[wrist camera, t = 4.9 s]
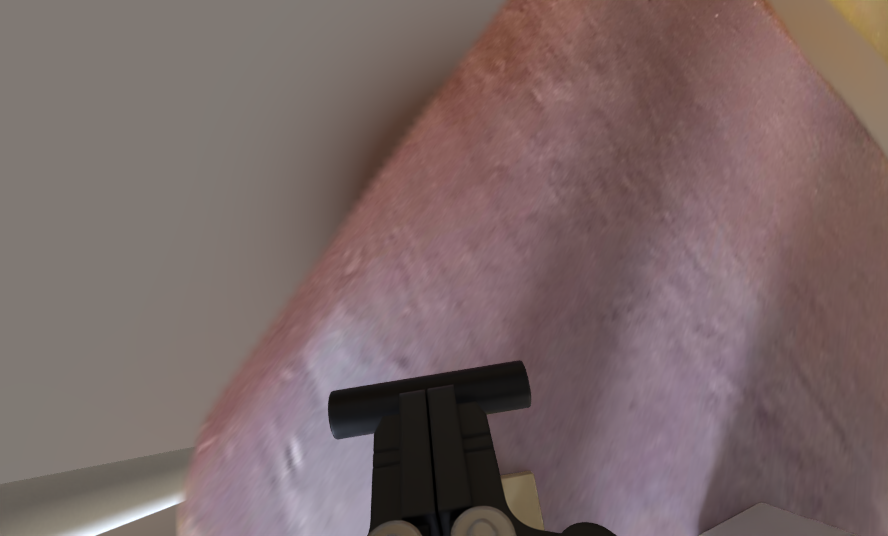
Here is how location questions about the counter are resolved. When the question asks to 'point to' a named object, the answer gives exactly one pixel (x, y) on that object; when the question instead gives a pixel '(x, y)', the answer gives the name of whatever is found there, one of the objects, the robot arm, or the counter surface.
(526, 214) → the counter surface
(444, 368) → the counter surface
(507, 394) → the lever
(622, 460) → the counter surface
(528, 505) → the bracket
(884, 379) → the counter surface
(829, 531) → the jar
